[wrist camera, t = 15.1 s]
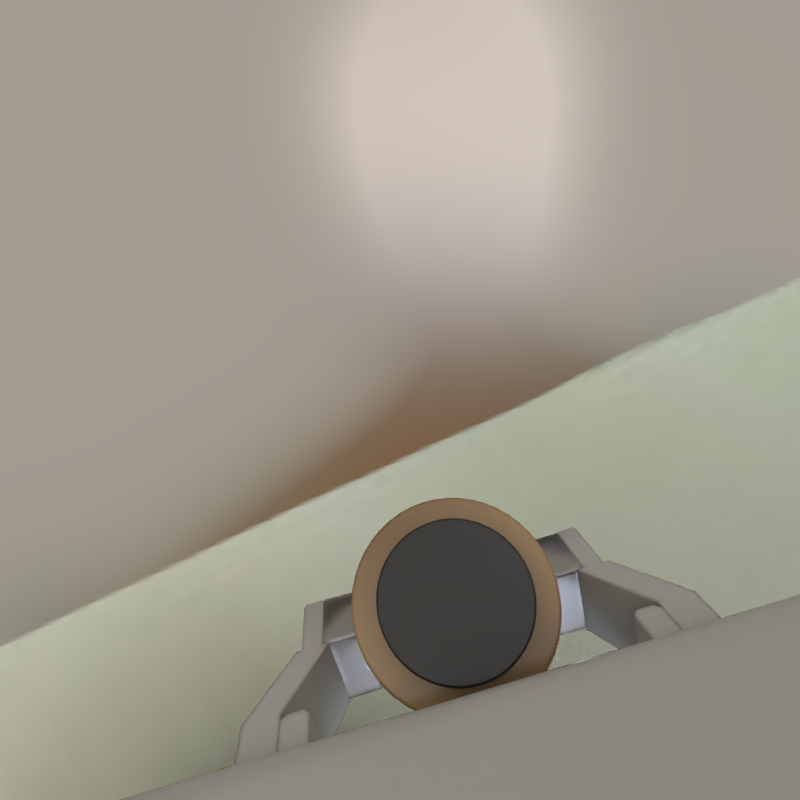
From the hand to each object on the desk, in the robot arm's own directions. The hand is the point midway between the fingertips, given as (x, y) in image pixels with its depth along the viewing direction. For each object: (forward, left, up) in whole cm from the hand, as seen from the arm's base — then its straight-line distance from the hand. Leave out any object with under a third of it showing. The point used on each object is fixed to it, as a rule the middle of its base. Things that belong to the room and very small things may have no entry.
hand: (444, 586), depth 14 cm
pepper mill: (0, +1, -5) cm, 5 cm away
